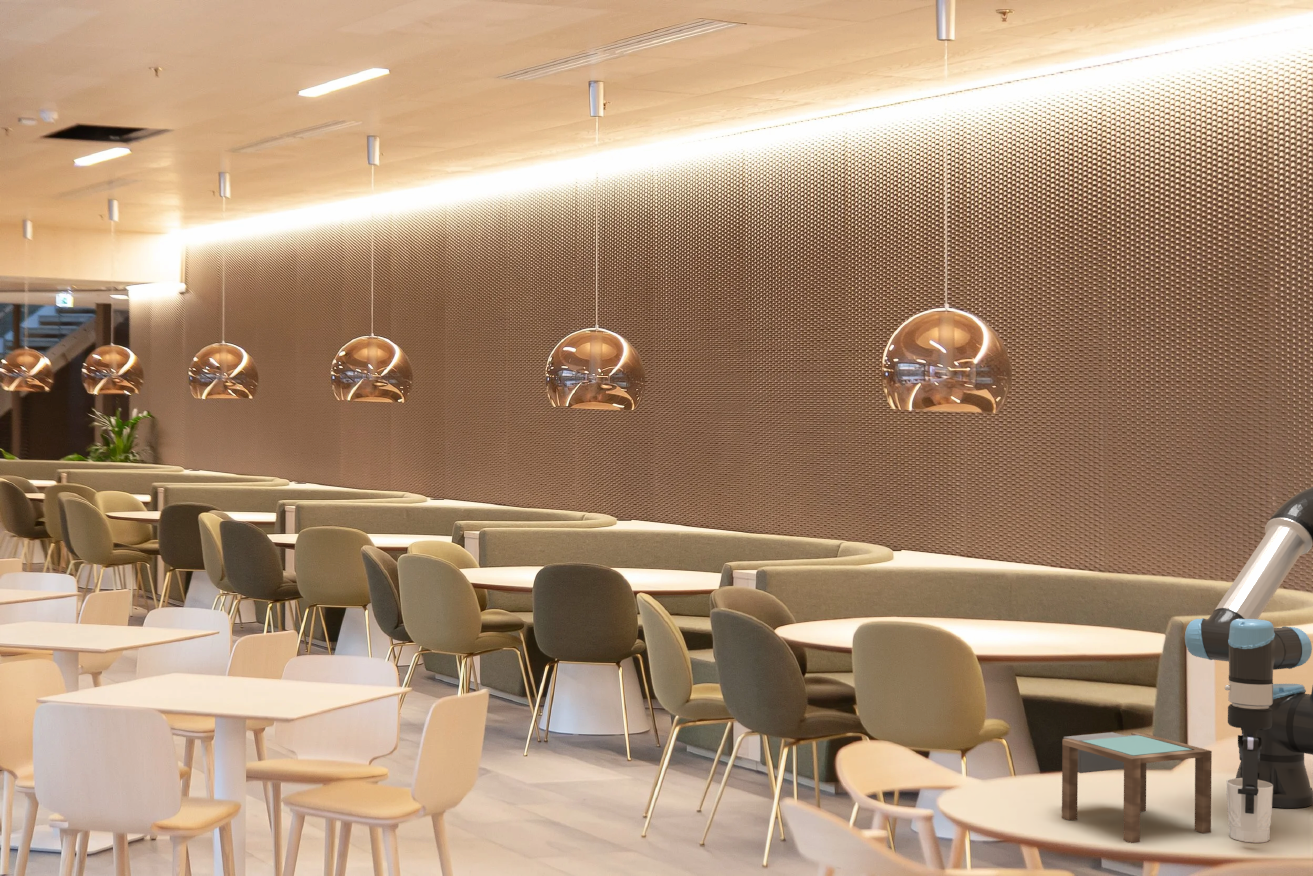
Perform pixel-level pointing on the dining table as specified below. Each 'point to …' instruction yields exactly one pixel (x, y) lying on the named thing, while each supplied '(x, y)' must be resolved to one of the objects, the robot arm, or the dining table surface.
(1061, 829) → the dining table surface
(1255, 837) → the white cup
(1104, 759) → the trapdoor
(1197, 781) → the frame
